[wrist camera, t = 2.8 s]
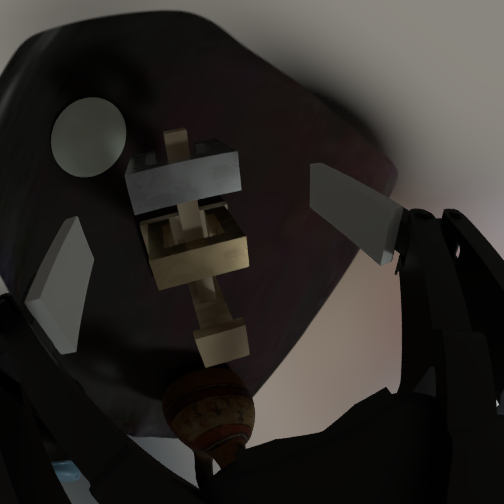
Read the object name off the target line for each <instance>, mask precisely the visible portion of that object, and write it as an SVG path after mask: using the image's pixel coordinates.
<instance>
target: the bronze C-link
mask: <svg viewBox="0 0 504 504" xmlns="http://www.w3.org/2000/svg"><path fill="white" fill-rule="evenodd" d="M204 216H205V222H206V227H207V233H208V237H206V238H202V239H198V240H194V241H190V242H186V243H182V244H178V245H175V242H174V238H173V234H172V230H171V225H170V221H169V218H168V219H164V220H160V221H156V222H153V223H149V224H148V251H149V263H150V266H151V269H152V272H153V275H154V278H155V280H156V283H157V286H158V289H159V290H162V289H166V288H170V287H174V286H178V285H181V284H185V283H189V282H193V281H196V280H200V279H204V278H208V277H212V276H215V275H219V274H223V273H226V272H230V271H234V270H238V269H241V268H245V267H249V260H248V250H247V241H246V236H245V234H244V233H243V231H242V230H241V228H240V227H239V226H238V224H237V223H236V221H235V220H234V218H233V217H232V215H231V214H230V213H229V211H228V210H227V208H226V207H225V205H223V206H218V207H214V208H210V209H205V210H204Z"/></svg>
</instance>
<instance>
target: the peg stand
mask: <svg viewBox="0 0 504 504" xmlns="http://www.w3.org/2000/svg"><path fill="white" fill-rule="evenodd" d="M163 133H164V139H165V145H166V151H167V157H168V160H172V159H177V158H181V157H186V156H190V152H189V146H188V139H187V132H186V129H185V128H180V129H175V130H170V131H165V132H163ZM223 205H225V207H226V208H227V210H228V207H227V203H226V202H225V201H224V202H219V203H215V204H210V205H206V206H201V207H198V201H197V200H194V201H189V202H185V203H181V204H177V208H178V212H176V213H172V214H168V215H164V216H160V217H156V218H153V219H149V220H145V221H141V222H140V228H141V232H142V235H143V238H144V242H145V245H146V248H147V251H148V224H149V223H153V222H156V221H160V220H164V219H168V218H169V221H170V225H171V230H172V234H173V238H174V242H175V245H178V244H182V243H186V242H190V241H194V240H198V239H202V238H206V237H208V233H207V227H206V222H205V216H204V210H205V209H210V208H214V207H218V206H223ZM148 254H149V251H148ZM188 285H189V288H190V292H191V296H192V300H193V303H194V307H195V311H196V314H197V318H198V321H199V325H200V328H201V329H199V330H195V331H193V334H194V338H195V341H196V344H197V347H198V349H199V352H200V355H201V357H202V360H203V363H204V365H205V368H207V367H210V366H214V365H217V364H221V363H224V362H228V361H231V360H234V359H238V358H241V357H244V356H247V355H250V353H249V346H248V340H247V333H246V326H245V323H244V321H243V319H242V317H241V318H237V319H234V320H233V319H232V317H231V314H230V312H229V309H228V307H227V305H226V302H225V300H224V297H223V295H222V292H221V290H220V288H219V285H218V283H217V280H216V278H215V276H212V277H208V278H204V279H200V280H196V281H193V282H189V283H188Z"/></svg>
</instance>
